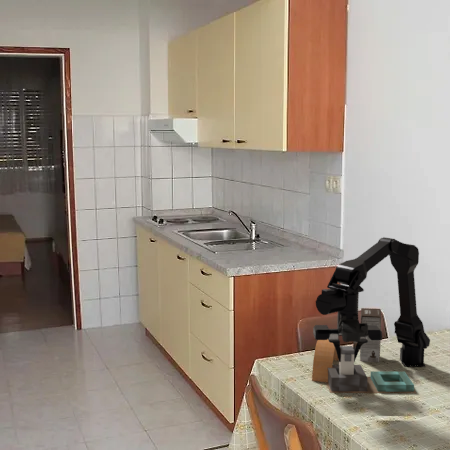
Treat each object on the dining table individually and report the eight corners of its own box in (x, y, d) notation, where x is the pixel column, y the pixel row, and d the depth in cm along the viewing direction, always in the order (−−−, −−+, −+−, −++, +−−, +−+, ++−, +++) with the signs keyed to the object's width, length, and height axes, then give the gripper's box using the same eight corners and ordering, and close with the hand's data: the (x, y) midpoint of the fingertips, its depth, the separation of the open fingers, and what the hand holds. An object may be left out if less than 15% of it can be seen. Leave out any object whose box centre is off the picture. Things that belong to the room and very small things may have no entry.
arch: (340, 361, 199) (341, 331, 198) (331, 385, 181) (331, 352, 179) (322, 359, 201) (322, 329, 200) (311, 383, 182) (311, 350, 181)
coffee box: (359, 354, 207) (360, 307, 205) (379, 355, 206) (380, 308, 203) (359, 364, 198) (361, 315, 196) (380, 365, 197) (382, 316, 195)
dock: (405, 380, 185) (405, 363, 184) (416, 396, 173) (417, 379, 172) (324, 379, 185) (324, 363, 185) (329, 396, 174) (330, 378, 173)
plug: (351, 376, 181) (352, 346, 179) (353, 381, 176) (354, 351, 175) (338, 375, 181) (339, 346, 180) (341, 381, 176) (341, 351, 175)
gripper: (318, 316, 168) (317, 371, 170) (387, 316, 168) (385, 372, 170) (313, 305, 179) (312, 357, 182) (378, 305, 179) (376, 357, 181)
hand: (346, 361), depth 178 cm, fingers closed on plug, 4 cm apart
